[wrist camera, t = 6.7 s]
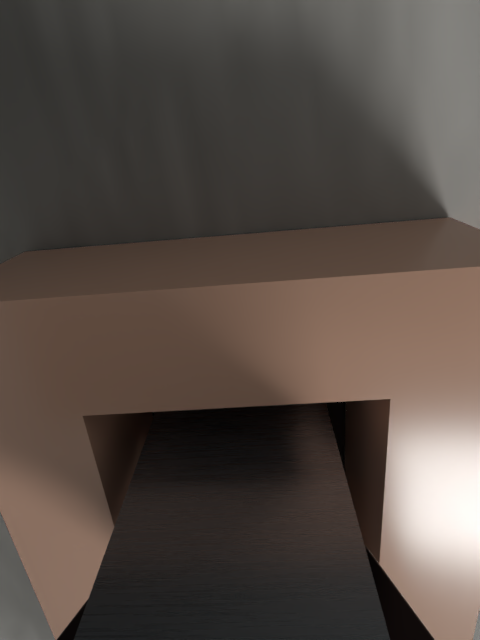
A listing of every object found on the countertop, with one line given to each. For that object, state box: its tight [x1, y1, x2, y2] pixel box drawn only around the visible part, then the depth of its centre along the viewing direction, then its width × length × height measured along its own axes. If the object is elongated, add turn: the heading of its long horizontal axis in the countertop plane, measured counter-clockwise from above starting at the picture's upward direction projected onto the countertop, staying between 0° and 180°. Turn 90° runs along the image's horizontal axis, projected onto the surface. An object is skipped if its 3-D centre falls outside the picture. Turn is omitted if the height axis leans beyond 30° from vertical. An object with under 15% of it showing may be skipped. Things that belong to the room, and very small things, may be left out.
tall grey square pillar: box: [74, 403, 390, 640], centre depth 7 cm, size 4×4×10 cm
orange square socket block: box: [0, 217, 480, 640], centre depth 11 cm, size 11×11×4 cm
